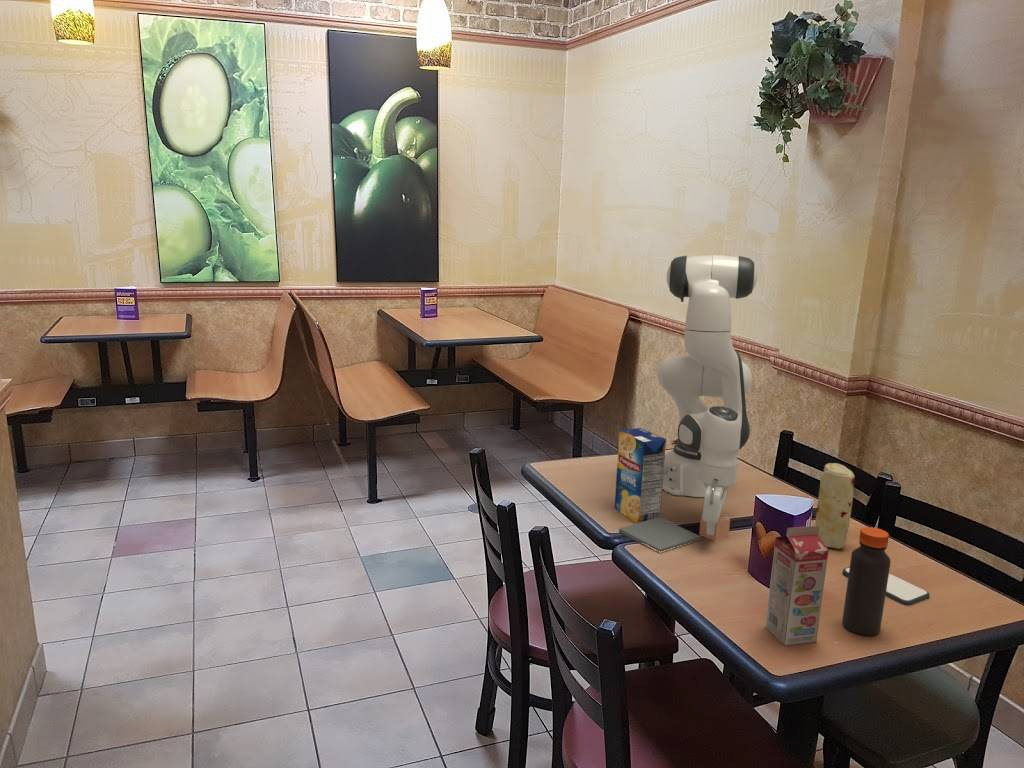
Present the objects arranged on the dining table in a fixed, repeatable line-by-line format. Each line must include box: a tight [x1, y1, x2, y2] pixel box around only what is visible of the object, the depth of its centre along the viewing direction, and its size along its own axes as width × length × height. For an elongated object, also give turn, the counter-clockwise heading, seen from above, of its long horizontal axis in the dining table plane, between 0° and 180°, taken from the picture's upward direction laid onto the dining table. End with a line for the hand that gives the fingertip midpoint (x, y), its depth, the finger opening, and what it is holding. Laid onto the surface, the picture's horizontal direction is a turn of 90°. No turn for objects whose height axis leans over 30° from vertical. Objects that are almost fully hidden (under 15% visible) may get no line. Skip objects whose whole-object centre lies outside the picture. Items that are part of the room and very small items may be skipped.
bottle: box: [841, 526, 892, 637], centre depth 144 cm, size 7×7×20 cm
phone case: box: [842, 566, 930, 607], centre depth 163 cm, size 9×2×16 cm
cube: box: [698, 514, 731, 542], centre depth 185 cm, size 5×5×5 cm
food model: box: [814, 462, 856, 550], centre depth 181 cm, size 10×7×20 cm
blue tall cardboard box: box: [614, 427, 667, 524], centre depth 195 cm, size 7×11×22 cm, turn 27°
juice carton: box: [764, 525, 830, 646], centre depth 140 cm, size 7×7×22 cm
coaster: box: [618, 516, 701, 552], centre depth 185 cm, size 14×14×1 cm
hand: (712, 526), depth 185 cm, fingers open, 8 cm apart
